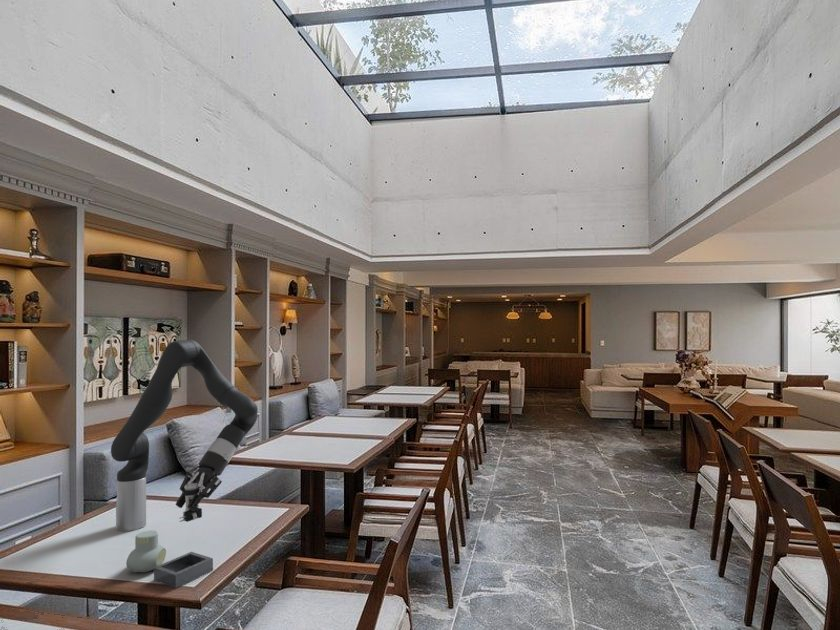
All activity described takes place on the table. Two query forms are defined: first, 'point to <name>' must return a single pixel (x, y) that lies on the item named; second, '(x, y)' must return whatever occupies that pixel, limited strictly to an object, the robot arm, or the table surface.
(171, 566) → the square socket
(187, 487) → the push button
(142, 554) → the air freshener
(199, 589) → the table surface
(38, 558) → the table surface
